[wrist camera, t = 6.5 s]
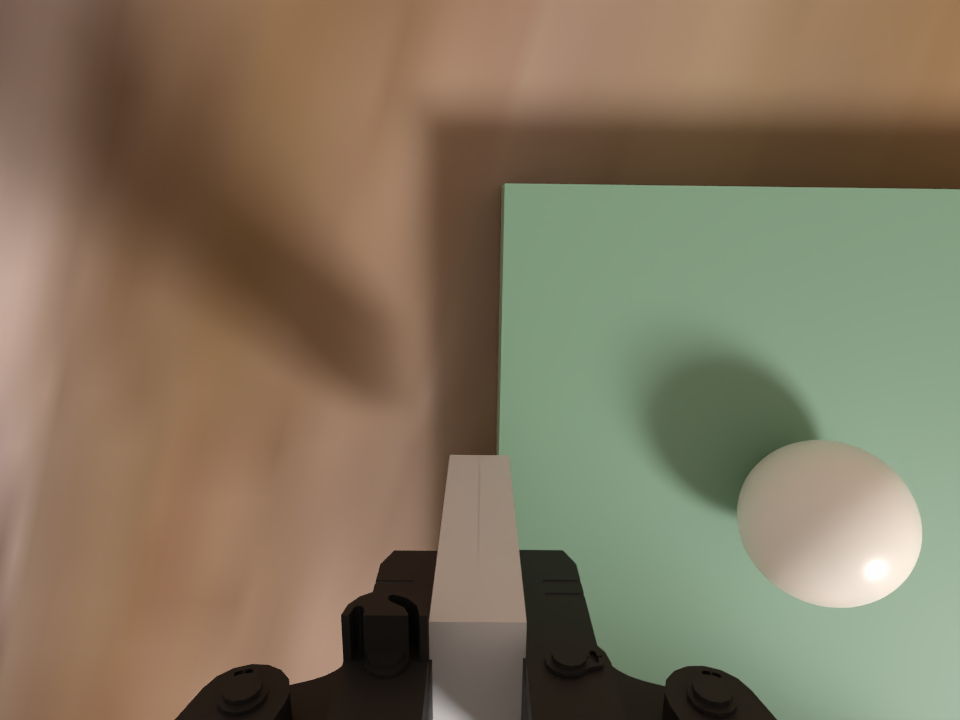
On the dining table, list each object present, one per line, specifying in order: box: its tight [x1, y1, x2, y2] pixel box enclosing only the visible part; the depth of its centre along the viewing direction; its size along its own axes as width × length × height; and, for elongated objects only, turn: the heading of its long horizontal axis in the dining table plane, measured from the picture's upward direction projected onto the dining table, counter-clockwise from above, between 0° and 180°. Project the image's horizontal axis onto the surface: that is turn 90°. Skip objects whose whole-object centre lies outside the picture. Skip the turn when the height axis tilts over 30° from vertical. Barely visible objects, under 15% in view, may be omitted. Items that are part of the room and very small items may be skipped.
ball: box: [737, 440, 922, 608], centre depth 16 cm, size 4×4×4 cm
